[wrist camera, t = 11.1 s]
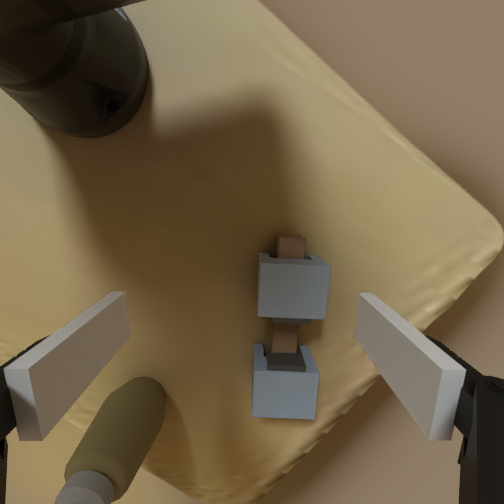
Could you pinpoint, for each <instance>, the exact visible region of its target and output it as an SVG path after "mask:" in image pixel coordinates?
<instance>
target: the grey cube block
mask: <svg viewBox="0 0 504 504" xmlns="http://www.w3.org/2000/svg"><path fill="white" fill-rule="evenodd" d="M330 271H331V266H330V265H329V264H328V263H326V262H325V261H324V260H322V259H321V258H320V257H319V256H317V255H308V257H307V259H286V258H270V256H269V253H259V266H258V284H257V311H258V317H270V319H271V322H273V323H296V324H311V319H322V320H325V319H326V309H327V300H328V290H329V281H330Z"/></svg>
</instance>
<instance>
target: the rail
mask: <svg viewBox="0 0 504 504" xmlns="http://www.w3.org/2000/svg"><path fill="white" fill-rule="evenodd" d="M305 243H306V239H305V238H304V237H302V236H301V235H286V234H277V240H276V256H275V258H286V259H304V255H305ZM298 325H299V324H296V323H273V322H271V332H270V348H269V352H274V353H296V348H297V337H298Z"/></svg>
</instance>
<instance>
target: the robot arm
mask: <svg viewBox="0 0 504 504" xmlns="http://www.w3.org/2000/svg"><path fill="white" fill-rule="evenodd" d="M141 1H145V0H0V88H1V89H2V90H4V91H5V92H6V93H7V94H8V95H9V96H10V97H11V98H13V99H14V100H15V101H16V102H17V103H19V104H20V105H21V106H22V107H23V108H24V109H25V110H26V111H27V112H28V113H29V114H30V115H32V116H33V117H34V118H36V119H37V120H39V121H40V122H42V123H44V124H45V125H47V126H49V127H51V128H54V129H56V130H59V131H61V132H64V133H67V134H70V135H73V136H77V137H85V138H92V137H100V136H104V135H107V134H110V133H112V132H115V131H116V130H118V129H120V128H121V127H123V126H124V125H125V124H126V123H127V122H129V120H130V119H131V118H132V117H133V116H134V115H135V113H136V112H137V110H138V109H139V107H140V105H141V103H142V100H143V98H144V95H145V91H146V87H147V79H148V65H147V58H146V53H145V49H144V46H143V43H142V41H141V38H140V36H139V34H138V32H137V30H136V28H135V27H134V25H133V24H132V22H131V21H130V19H129V18H128V16H127V15H126V13H125V12H124V10H123V9H122V8H121V7H123V6H127V5H130V4H134V3H138V2H141ZM129 337H130V330H129V320H128V310H127V300H126V292H117V291H112V292H110V293H109V294H108V295H106V296H105V297H103V298H102V299H101V300H99V301H98V302H96V303H95V304H94V305H92V306H91V307H89V308H88V309H87V310H85V311H84V312H82V313H81V314H80V315H78V316H77V317H75V318H74V319H73V320H71V321H70V322H68V323H67V324H66V325H64V326H63V327H61V328H60V329H59V330H57V331H56V332H54V333H53V334H52V335H49V336H47V337H45V338H43V339H41V340H38V341H36V342H35V343H34V344H32V345H31V346H29V347H28V348H26V350H24V351H22V352H21V353H19V354H18V355H17V357H13V358H12V359H11V360H9V361H8V362H6V363H5V364H3V365H2V366H0V504H5V495H6V473H7V453H8V444H7V440H6V436H7V435H8V434H9V433H10V432H11V431H12V430H13V429H14V428H15V427H17V432H18V436H19V440H20V441H43V440H44V438H45V437H46V436H47V435H48V434H49V432H50V431H51V430H52V429H53V428H54V426H55V425H56V424H57V423H58V422H59V420H60V419H61V418H62V417H63V416H64V414H65V413H66V412H67V411H68V410H69V409H70V407H71V406H72V405H73V404H74V403H75V401H76V400H77V399H78V398H79V397H80V395H81V394H82V393H83V392H84V391H85V389H86V388H87V387H88V386H89V385H90V383H91V382H92V381H93V380H94V379H95V377H96V376H97V375H98V374H99V373H100V371H101V370H102V369H103V368H104V367H105V365H106V364H107V363H108V362H109V361H110V360H111V358H112V357H113V356H114V355H115V354H116V352H117V351H118V350H119V349H120V348H121V346H122V345H123V344H124V343H125V342H126V340H127V339H128V338H129ZM354 338H355V339H356V341H357V342H358V343H359V345H360V346H361V348H362V349H363V350H364V352H365V353H366V354H367V356H368V357H369V359H370V360H371V361H372V363H373V364H374V365H375V367H376V368H377V370H378V371H379V372H380V374H381V375H382V376H383V378H384V379H385V381H386V382H387V383H388V385H389V386H390V387H391V389H392V390H393V392H394V393H395V394H396V396H397V397H398V398H399V400H400V401H401V402H402V404H403V405H404V407H405V408H406V409H407V411H408V412H409V413H410V415H411V416H412V418H413V419H414V420H415V422H416V423H417V425H418V426H419V427H420V429H421V430H422V431H423V433H424V434H425V436H426V437H427V438H428V440H451V439H452V434H453V429H454V425H455V426H456V427H457V428H458V429H459V431H460V432H461V433H462V434H463V435H464V436H463V441H462V445H461V450H460V454H459V459H458V464H460V465H461V467H460V488H459V504H504V379H501V378H497V377H493V376H483V375H482V374H481V373H479V372H478V371H477V370H476V369H474V368H473V367H472V366H471V365H469V364H468V363H467V362H465V361H464V360H462V358H460V357H458V356H457V355H456V354H455V353H454V352H453V351H450V349H449V348H447V347H446V346H445V345H444V344H442V343H441V342H439V341H437V340H435V339H433V338H431V337H430V336H428V335H427V336H426V335H423V334H422V333H420V332H419V331H418V330H417V329H415V328H414V327H413V326H412V325H411V324H409V323H408V322H407V321H406V320H404V319H403V318H402V317H401V316H399V315H398V314H397V313H396V312H395V311H393V310H392V309H391V308H390V307H388V306H387V305H386V304H385V303H383V302H382V301H381V300H380V299H379V298H377V297H376V296H375V295H374V294H372V293H358V301H357V310H356V320H355V329H354Z"/></svg>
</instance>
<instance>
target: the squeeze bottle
mask: <svg viewBox="0 0 504 504" xmlns="http://www.w3.org/2000/svg"><path fill="white" fill-rule="evenodd" d="M164 399H165V397H164V392H163V389H162V388H161V386H160V385H159V383H157V382H156V381H154V380H153V379H150V378H146V377H140V378H135V379H133V380H131V381H129V382H128V383H126V384H124V385H123V386H121V387H120V388H118V389H117V390H115V391H114V392H112V393H111V394H110V395H109V396H108V398H107V399H106V400H105V401H104V403H103V405H102V406H101V408H100V410H99V411H98V413H97V415H96V416H95V418H94V420H93V421H92V423H91V425H90V426H89V428H88V430H87V431H86V433H85V435H84V437H83V438H82V440H81V442H80V443H79V445H78V447H77V448H76V450H75V452H74V454H73V455H72V457H71V458H70V460H69V462H68V464H67V465H66V469H65V475H64V477H65V480H66V483H65V485H64V487H63V488H62V490H61V491H60V492H59V494H58V495H57V497H56V501H55V504H111V503H112V502H114V501H116V500H118V499H120V498H121V497H122V496H123V495H124V493H125V492H126V491H127V490H128V488H129V486H130V484H131V482H132V481H133V479H134V477H135V475H136V473H137V471H138V469H139V468H140V466H141V464H142V462H143V460H144V458H145V457H146V455H147V453H148V451H149V449H150V447H151V445H152V444H153V442H154V440H155V438H156V436H157V434H158V433H159V431H160V429H161V427H162V423H163V420H164Z"/></svg>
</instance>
